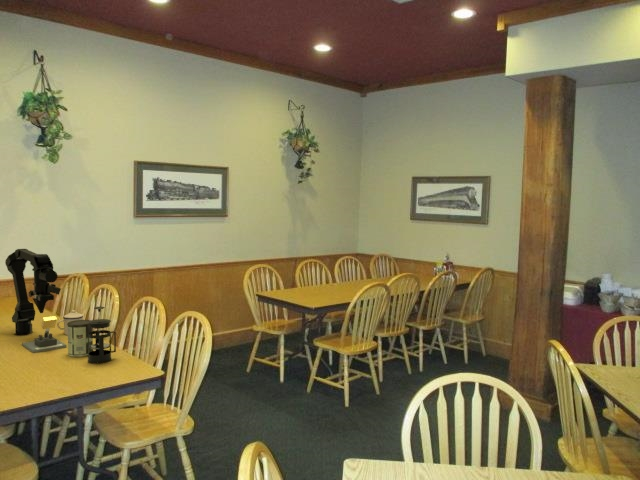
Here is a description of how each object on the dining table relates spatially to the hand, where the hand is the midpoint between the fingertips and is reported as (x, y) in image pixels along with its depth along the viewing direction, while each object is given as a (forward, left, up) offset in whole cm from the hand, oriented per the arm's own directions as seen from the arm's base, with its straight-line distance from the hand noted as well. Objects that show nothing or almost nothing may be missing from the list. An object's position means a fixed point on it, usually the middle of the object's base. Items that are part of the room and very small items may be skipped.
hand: (41, 313), depth 255 cm
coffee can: (+26, -23, -13) cm, 37 cm away
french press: (+38, -33, -13) cm, 52 cm away
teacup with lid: (+9, +12, -13) cm, 20 cm away
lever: (+7, -13, -9) cm, 17 cm away
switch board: (+6, -12, -13) cm, 18 cm away
